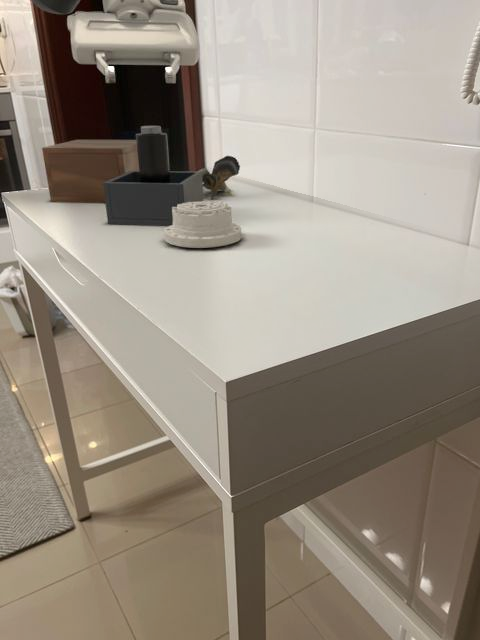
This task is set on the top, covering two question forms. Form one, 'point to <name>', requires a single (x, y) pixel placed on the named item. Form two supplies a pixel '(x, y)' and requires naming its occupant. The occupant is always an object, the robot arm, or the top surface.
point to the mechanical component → (202, 225)
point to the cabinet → (87, 167)
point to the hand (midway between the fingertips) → (141, 80)
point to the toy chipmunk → (220, 175)
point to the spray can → (153, 155)
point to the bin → (149, 197)
